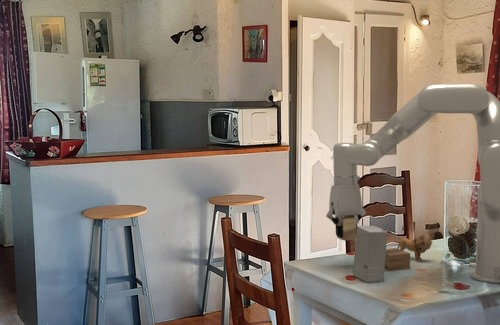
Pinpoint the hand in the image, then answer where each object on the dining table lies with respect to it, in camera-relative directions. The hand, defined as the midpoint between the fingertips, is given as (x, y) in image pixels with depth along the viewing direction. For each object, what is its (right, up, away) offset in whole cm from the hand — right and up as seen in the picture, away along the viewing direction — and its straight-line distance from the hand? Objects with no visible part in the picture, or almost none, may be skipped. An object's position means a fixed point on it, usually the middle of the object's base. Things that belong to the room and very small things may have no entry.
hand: (346, 235), depth 197 cm
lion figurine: (+25, -10, +12) cm, 29 cm away
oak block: (0, -1, 0) cm, 1 cm away
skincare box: (+5, -12, -13) cm, 18 cm away
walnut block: (+15, -10, +1) cm, 19 cm away
